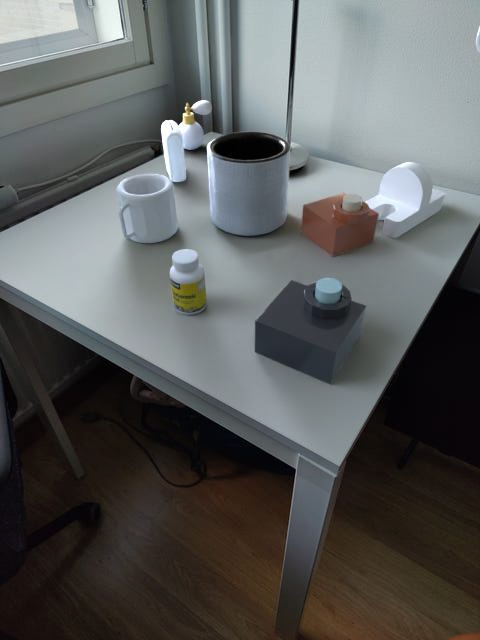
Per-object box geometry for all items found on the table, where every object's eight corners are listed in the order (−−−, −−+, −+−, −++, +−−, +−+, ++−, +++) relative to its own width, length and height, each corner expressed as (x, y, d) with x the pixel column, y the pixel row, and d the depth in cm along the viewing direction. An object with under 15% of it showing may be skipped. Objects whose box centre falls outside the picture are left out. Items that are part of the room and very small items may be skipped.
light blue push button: (344, 293, 66) (346, 282, 64) (334, 307, 63) (336, 296, 62) (321, 286, 67) (322, 274, 66) (310, 299, 65) (311, 287, 63)
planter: (303, 221, 96) (309, 147, 86) (241, 248, 89) (240, 170, 78) (254, 194, 106) (255, 124, 95) (196, 216, 98) (189, 143, 88)
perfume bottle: (172, 146, 128) (167, 100, 120) (203, 139, 132) (199, 94, 124) (185, 155, 123) (181, 108, 115) (216, 147, 127) (214, 101, 119)
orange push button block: (376, 244, 89) (384, 206, 84) (335, 259, 85) (341, 221, 80) (340, 220, 96) (345, 184, 91) (300, 233, 93) (303, 196, 87)
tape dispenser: (354, 221, 96) (363, 171, 89) (403, 193, 105) (414, 146, 97) (394, 239, 90) (406, 187, 83) (442, 208, 99) (457, 159, 92)
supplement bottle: (168, 311, 75) (160, 261, 68) (183, 292, 79) (177, 243, 72) (198, 319, 73) (193, 269, 67) (212, 299, 77) (208, 249, 71)
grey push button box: (361, 334, 70) (370, 293, 65) (330, 384, 63) (337, 342, 58) (290, 308, 75) (293, 268, 70) (254, 352, 68) (254, 310, 62)
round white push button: (364, 209, 84) (366, 199, 82) (350, 214, 83) (351, 204, 81) (352, 202, 86) (353, 192, 85) (338, 206, 85) (339, 196, 83)
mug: (146, 213, 100) (139, 168, 93) (188, 224, 96) (183, 178, 89) (105, 243, 91) (93, 196, 84) (149, 257, 87) (140, 208, 80)
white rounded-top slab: (164, 166, 118) (158, 116, 110) (181, 164, 119) (176, 114, 111) (170, 183, 110) (164, 131, 102) (188, 181, 111) (183, 129, 103)
